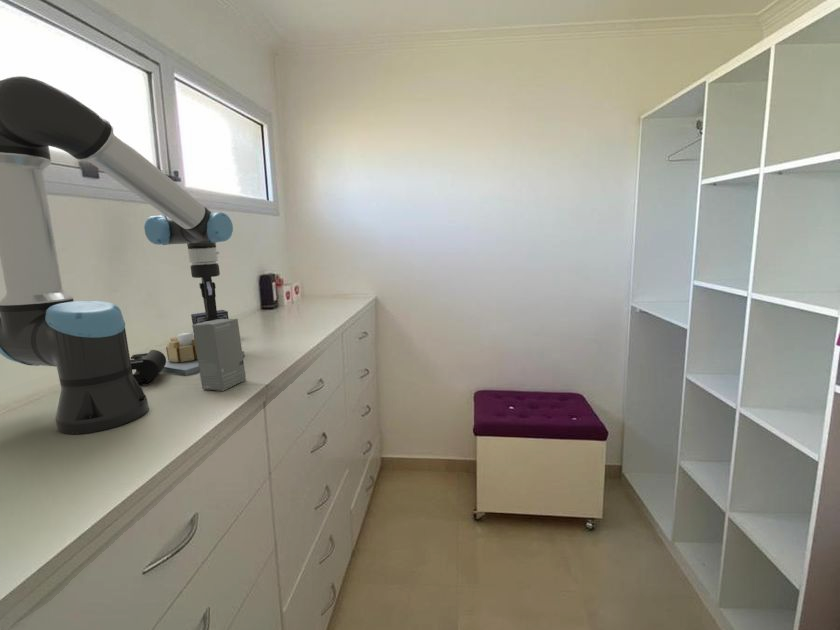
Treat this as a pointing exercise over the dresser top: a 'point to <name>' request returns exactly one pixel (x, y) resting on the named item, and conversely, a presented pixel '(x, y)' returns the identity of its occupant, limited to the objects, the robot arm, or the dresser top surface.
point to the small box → (201, 316)
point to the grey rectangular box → (219, 353)
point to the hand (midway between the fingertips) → (214, 341)
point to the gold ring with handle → (181, 351)
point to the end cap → (147, 366)
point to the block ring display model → (186, 366)
